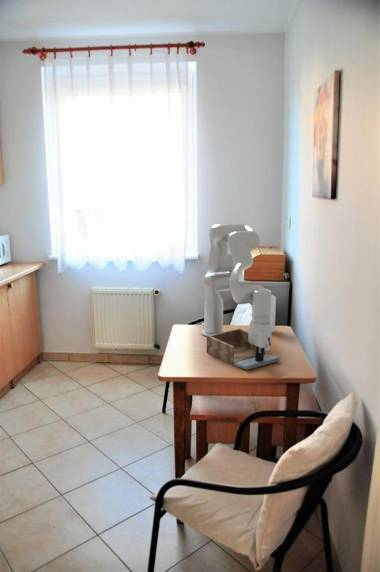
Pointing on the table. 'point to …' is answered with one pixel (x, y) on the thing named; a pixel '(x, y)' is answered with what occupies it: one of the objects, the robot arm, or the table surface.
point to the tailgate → (252, 363)
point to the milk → (272, 312)
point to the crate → (231, 346)
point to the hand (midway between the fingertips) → (259, 360)
